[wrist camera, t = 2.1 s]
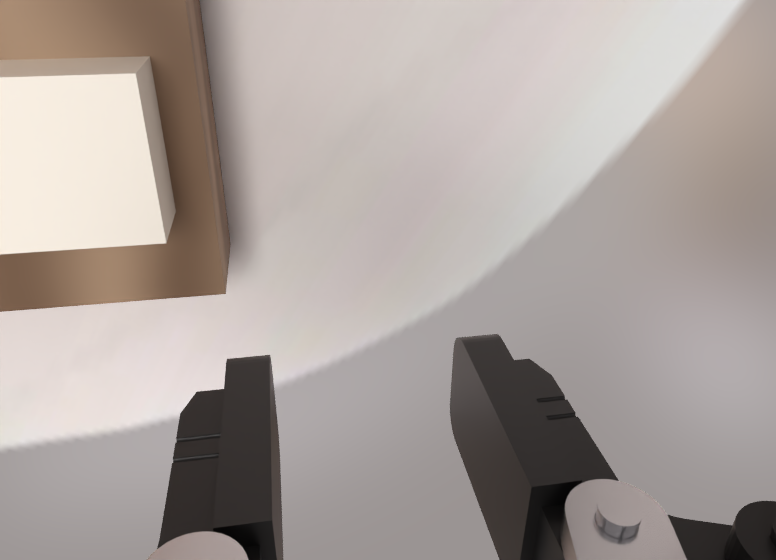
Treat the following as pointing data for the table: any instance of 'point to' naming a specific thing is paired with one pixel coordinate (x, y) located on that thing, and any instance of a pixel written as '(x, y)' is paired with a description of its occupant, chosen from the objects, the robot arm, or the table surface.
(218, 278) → the wood grain slab
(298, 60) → the table surface
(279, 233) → the table surface
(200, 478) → the robot arm
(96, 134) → the cream tile
